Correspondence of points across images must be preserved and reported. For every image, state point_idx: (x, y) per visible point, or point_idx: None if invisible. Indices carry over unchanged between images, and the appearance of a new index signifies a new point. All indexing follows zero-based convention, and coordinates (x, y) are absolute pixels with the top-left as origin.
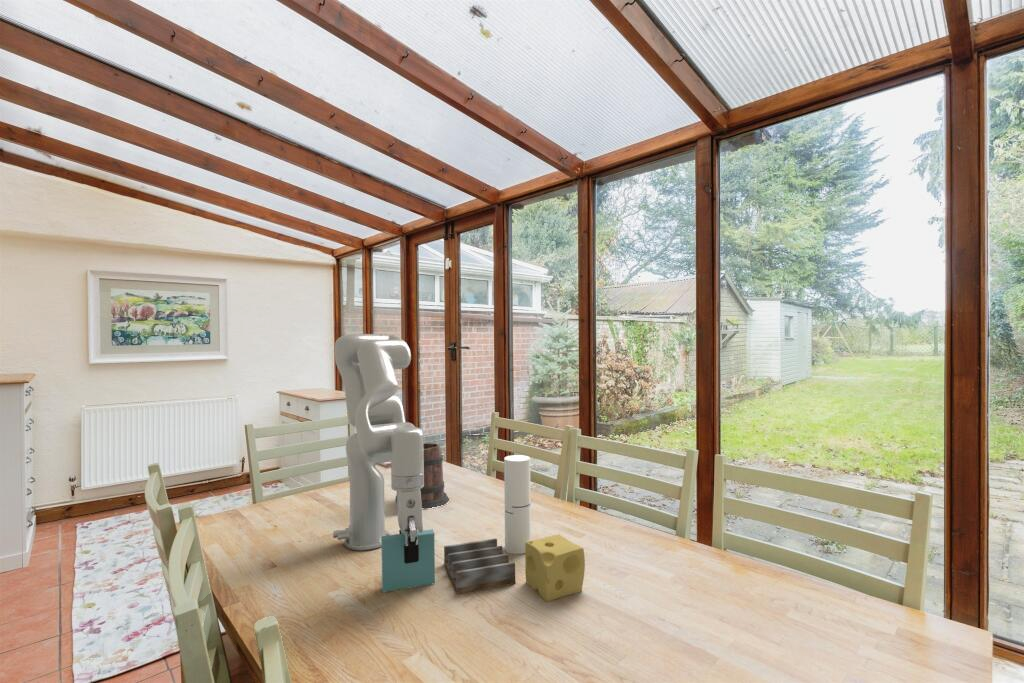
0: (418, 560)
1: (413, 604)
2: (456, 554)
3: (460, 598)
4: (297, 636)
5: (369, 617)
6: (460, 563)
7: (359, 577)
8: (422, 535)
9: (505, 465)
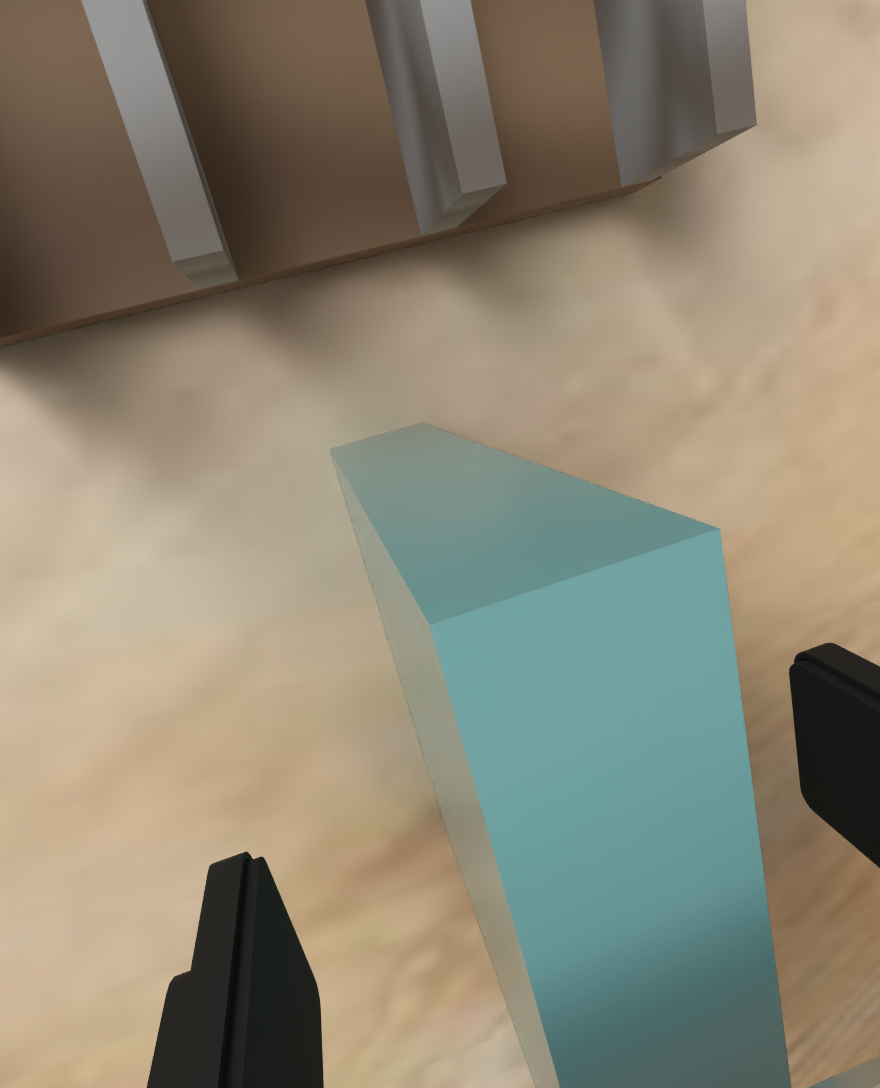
0: (830, 646)
1: None
2: (177, 111)
3: (704, 164)
4: (867, 1043)
5: (797, 787)
6: (477, 60)
7: None
8: (749, 804)
9: None
